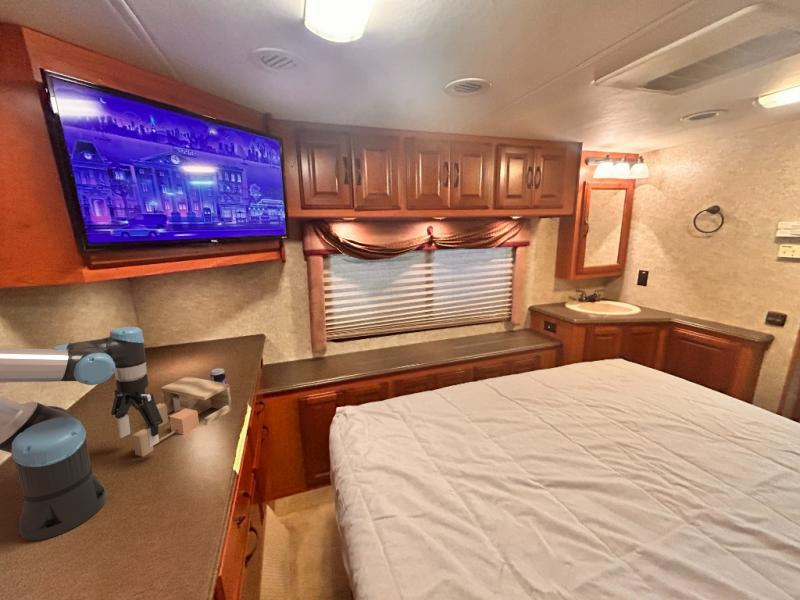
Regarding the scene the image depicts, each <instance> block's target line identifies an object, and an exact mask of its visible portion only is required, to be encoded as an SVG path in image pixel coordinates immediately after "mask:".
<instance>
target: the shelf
mask: <svg viewBox="0 0 800 600" xmlns="http://www.w3.org/2000/svg"><path fill="white" fill-rule="evenodd" d="M160 394H161V400H162V404H165V405H166V406H167V413H168V414H171V413H172V412H175V410H174V403H173V398H174V397H176V396H179V400H180V408H181V410H183V409H185V408H187V409H191V410H195V411H197V412H198V415H200V414H202V413H204V412H205V411H207V410H209V409H210V408H214V409H218V410H215V411H214V412H212V413H211V414H208V415H207V416H205V417H204V424H205V425H210V424H211V423H213V422H215V421H216V420H217V419H219V418H221V417H223V416H225V415H226V414H227V413H229V412H231V411H232V410H233V406H232V398H231V396H232V395H231V386H230V384H229V383H226V384H225V383H220V382H215V381H211V379H210V380H209V379H204V378H199V377H192V376H185V377H182V378H180V379H178V380H176V381H173V382H171V383H169V384H166V385H164V386H161V387H160Z"/></svg>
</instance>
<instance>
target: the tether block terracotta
mask: <svg viewBox="0 0 800 600" xmlns="http://www.w3.org/2000/svg"><path fill="white" fill-rule="evenodd" d="M169 422H170V428H171V432H170V433H167V434H166V435H164V436H162V437H160V438H159V443H160V442H161V441H163V440H165V439H166V438H168V437H170V436H171V435H174V434H180V435H182V436H184V435H186V434H188V433H190V432H192V431H193V430H194V429H196V428H198V427H200V423H199V422H200V421H199V414H198V412H197V411H195V410H191V409H187V408H185V409H183V410H181V411H179V412H177V413H175V414H173V415H171V416H170V417H169ZM131 436H132V442H133V443H132V444H133V448H134V453H135V456H139V457H141V458H143V457H145V456H147V455H149V454H150V453H152V452H153V451H154V450H155V449H154V445H153V446H151V447H148V438H147V429H145V428H143V429H141V430H139V431H137V432H135V433H133V434H132V435H131Z"/></svg>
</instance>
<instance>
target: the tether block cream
mask: <svg viewBox="0 0 800 600" xmlns="http://www.w3.org/2000/svg"><path fill="white" fill-rule="evenodd" d="M173 403H174V411H173V413H172V412H171V413H167V406H166V405H165V404H163V403H160V402H159V403H158V404H157V403H156V406H157V408H158V411H159V413H160V415H161V418H162V420H163V423H161V424H159V425H158V428H159V427H161V426H163V425H165V424H167V423H169V422H170V420H169V418H170V416H171V415H173V414H175V413H177V412H179V411H181V408H180V400H179V396H176V397H174V398H173Z"/></svg>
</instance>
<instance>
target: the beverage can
mask: <svg viewBox="0 0 800 600" xmlns="http://www.w3.org/2000/svg"><path fill="white" fill-rule="evenodd" d="M209 377H210V381H215V382H220V383H225V384H227V379H226V370H225V369H224V368H223V367H217V368H214V369H212V370H210V374H209Z"/></svg>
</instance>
